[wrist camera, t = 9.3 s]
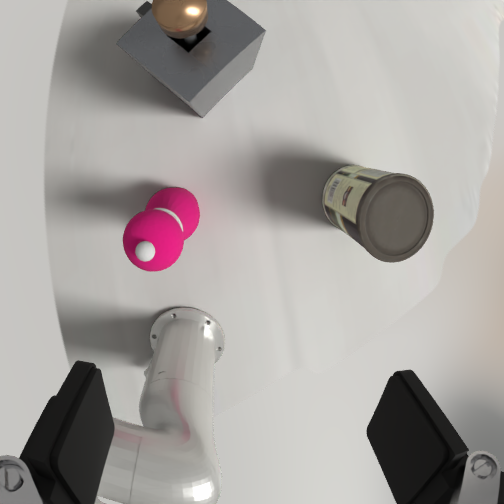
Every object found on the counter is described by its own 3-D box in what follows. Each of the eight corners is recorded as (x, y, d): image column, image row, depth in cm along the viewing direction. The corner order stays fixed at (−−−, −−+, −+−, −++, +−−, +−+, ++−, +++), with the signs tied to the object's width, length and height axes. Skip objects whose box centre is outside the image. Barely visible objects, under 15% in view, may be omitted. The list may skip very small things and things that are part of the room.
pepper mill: (143, 199, 44) (89, 238, 25) (186, 174, 44) (156, 196, 25) (168, 241, 46) (133, 305, 28) (211, 218, 46) (200, 271, 27)
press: (202, 117, 41) (189, 102, 26) (138, 64, 38) (98, 30, 23) (252, 68, 39) (265, 30, 24) (187, 17, 36) (171, -36, 21)
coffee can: (383, 227, 48) (431, 256, 35) (323, 234, 48) (358, 268, 35) (382, 163, 45) (435, 172, 32) (319, 166, 45) (357, 175, 31)
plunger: (198, 97, 35) (177, 61, 19) (158, 64, 33) (113, 14, 17) (238, 58, 34) (247, -1, 17) (198, 26, 32) (181, -44, 16)
